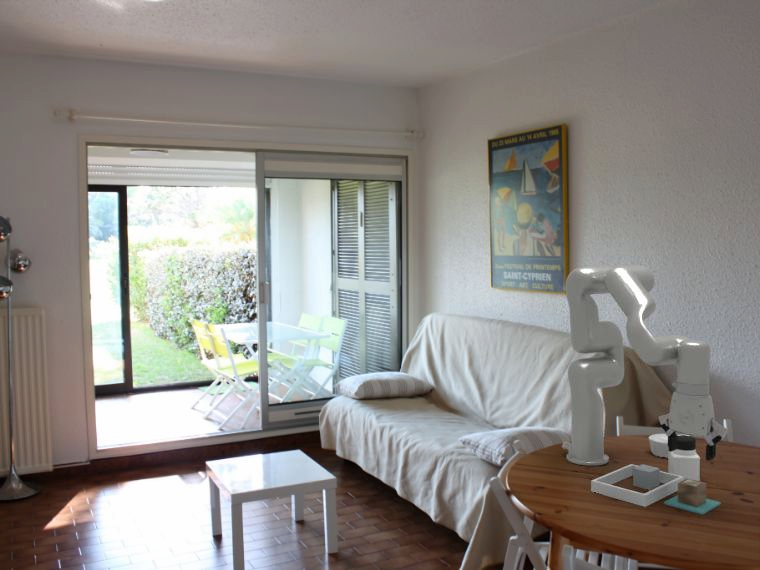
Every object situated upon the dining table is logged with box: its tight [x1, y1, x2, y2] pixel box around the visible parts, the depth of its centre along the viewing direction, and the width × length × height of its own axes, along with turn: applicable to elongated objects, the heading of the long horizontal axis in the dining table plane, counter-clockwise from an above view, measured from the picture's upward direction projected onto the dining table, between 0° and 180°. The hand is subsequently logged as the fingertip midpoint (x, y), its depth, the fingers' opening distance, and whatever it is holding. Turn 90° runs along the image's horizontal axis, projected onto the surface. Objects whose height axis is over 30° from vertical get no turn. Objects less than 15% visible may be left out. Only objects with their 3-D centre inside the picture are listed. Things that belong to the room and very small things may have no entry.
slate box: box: [632, 463, 661, 491], centre depth 197 cm, size 5×5×5 cm
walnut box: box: [677, 479, 707, 507], centre depth 182 cm, size 5×5×5 cm
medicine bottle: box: [667, 434, 701, 482], centre depth 202 cm, size 7×7×12 cm
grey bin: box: [590, 463, 684, 508], centre depth 194 cm, size 16×21×3 cm
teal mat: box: [663, 494, 722, 516], centre depth 182 cm, size 10×10×1 cm
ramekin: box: [648, 433, 669, 459], centre depth 225 cm, size 11×11×5 cm
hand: (691, 454), depth 182 cm, fingers open, 9 cm apart
